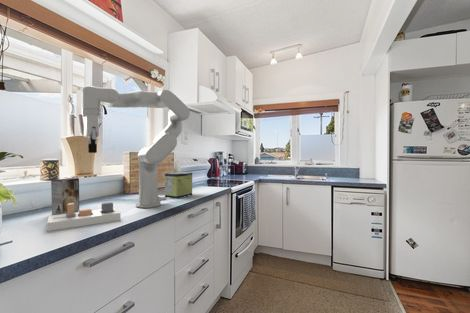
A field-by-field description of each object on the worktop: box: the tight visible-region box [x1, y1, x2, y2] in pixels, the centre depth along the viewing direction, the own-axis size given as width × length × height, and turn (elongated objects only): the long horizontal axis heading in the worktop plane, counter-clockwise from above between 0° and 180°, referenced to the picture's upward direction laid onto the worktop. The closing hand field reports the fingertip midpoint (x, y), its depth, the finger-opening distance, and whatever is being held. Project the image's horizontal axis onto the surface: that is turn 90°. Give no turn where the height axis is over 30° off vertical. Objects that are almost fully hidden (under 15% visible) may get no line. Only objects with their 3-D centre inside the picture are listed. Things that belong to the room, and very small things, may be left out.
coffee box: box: [50, 177, 80, 216], centre depth 110 cm, size 9×6×16 cm
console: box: [47, 207, 121, 232], centre depth 96 cm, size 24×12×3 cm, turn 127°
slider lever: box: [66, 203, 76, 217], centre depth 93 cm, size 3×4×5 cm
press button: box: [78, 208, 92, 217], centre depth 96 cm, size 4×4×4 cm
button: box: [101, 202, 114, 213], centre depth 100 cm, size 4×4×4 cm
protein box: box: [164, 171, 193, 199], centre depth 154 cm, size 10×16×16 cm
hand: (92, 152), depth 109 cm, fingers closed
